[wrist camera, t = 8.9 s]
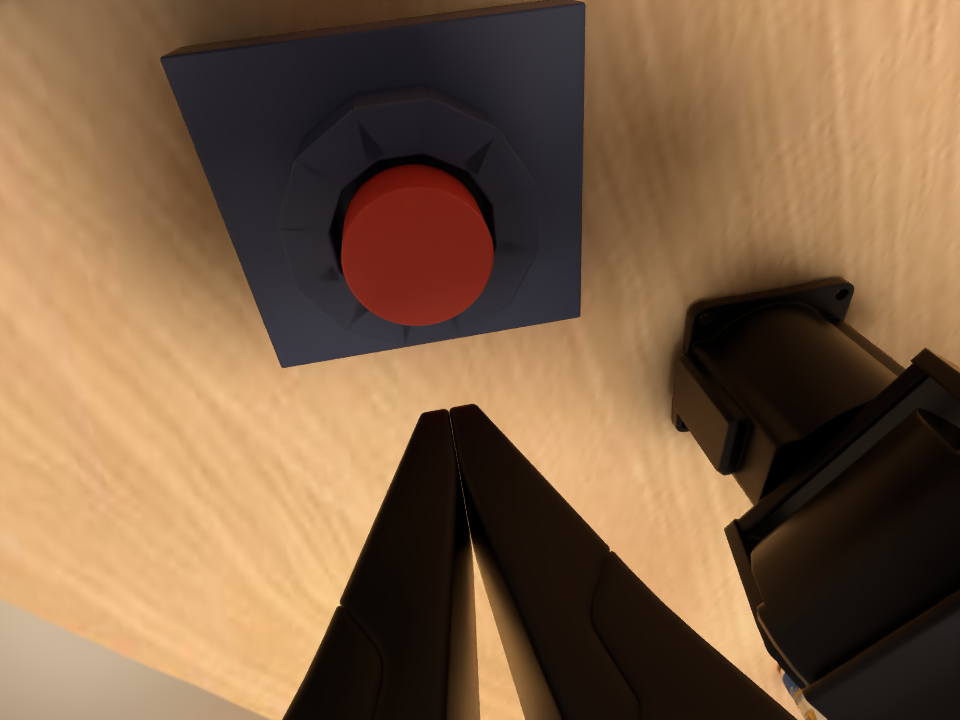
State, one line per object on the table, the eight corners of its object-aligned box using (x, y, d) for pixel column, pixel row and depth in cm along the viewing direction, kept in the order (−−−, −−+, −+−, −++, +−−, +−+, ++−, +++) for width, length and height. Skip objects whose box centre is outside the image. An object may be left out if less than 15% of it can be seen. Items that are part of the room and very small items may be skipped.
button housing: (566, -3, 15) (613, 7, 12) (566, 293, 20) (598, 348, 17) (178, 47, 14) (131, 70, 11) (287, 340, 19) (274, 405, 17)
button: (475, 152, 14) (487, 175, 12) (487, 282, 16) (499, 314, 14) (327, 174, 13) (322, 200, 12) (361, 303, 15) (360, 337, 14)
